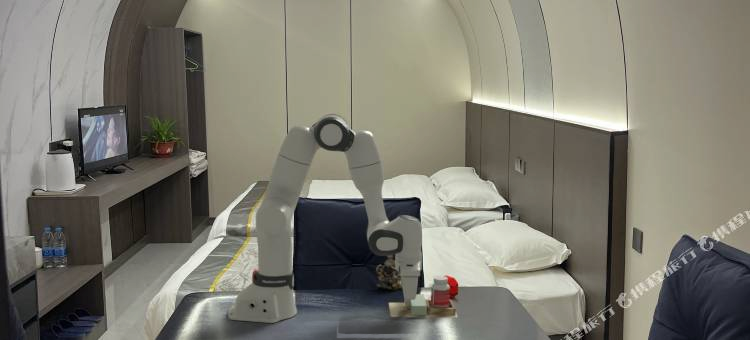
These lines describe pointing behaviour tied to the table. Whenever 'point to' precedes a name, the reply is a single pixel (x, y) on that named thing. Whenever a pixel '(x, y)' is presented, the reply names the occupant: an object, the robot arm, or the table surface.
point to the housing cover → (419, 305)
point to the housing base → (405, 310)
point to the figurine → (388, 276)
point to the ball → (452, 286)
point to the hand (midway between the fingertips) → (407, 304)
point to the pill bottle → (440, 292)
